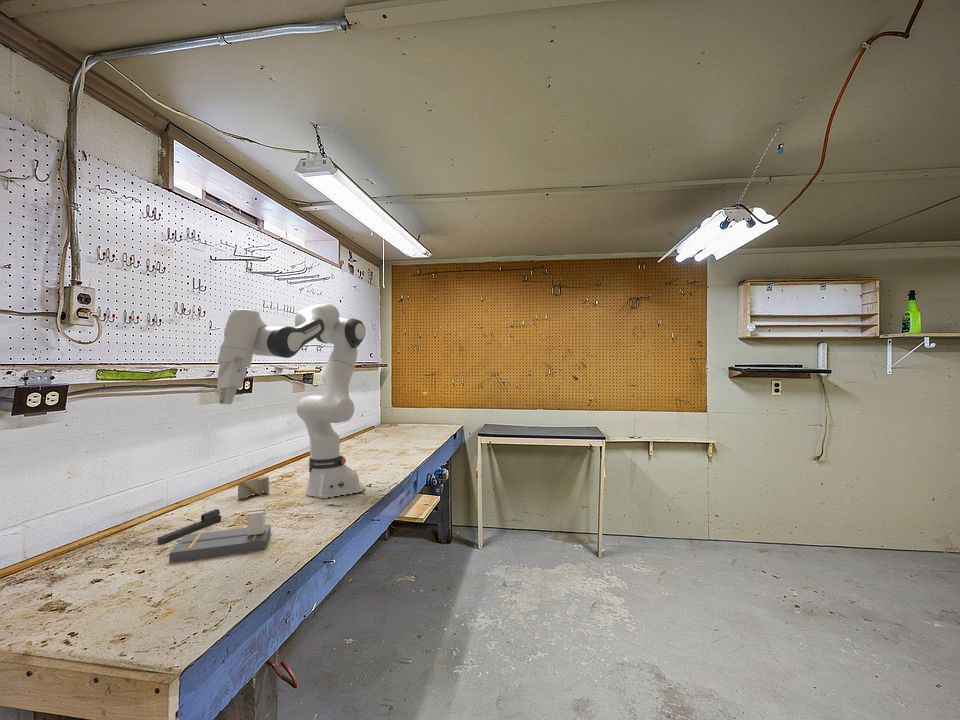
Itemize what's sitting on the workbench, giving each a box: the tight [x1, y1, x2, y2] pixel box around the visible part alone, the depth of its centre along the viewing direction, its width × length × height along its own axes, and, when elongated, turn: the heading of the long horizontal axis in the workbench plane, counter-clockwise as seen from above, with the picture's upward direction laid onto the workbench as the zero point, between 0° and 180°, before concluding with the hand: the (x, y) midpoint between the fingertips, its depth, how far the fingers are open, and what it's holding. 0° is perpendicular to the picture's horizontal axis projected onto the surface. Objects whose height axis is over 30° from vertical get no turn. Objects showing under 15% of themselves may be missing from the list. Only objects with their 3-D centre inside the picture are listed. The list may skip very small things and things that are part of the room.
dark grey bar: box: [157, 508, 222, 545], centre depth 126 cm, size 19×3×4 cm, turn 163°
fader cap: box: [246, 507, 266, 536], centre depth 118 cm, size 4×4×6 cm
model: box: [237, 474, 270, 500], centre depth 160 cm, size 3×11×8 cm, turn 154°
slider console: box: [168, 524, 272, 563], centre depth 115 cm, size 22×12×3 cm, turn 110°
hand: (224, 404), depth 123 cm, fingers open, 8 cm apart
